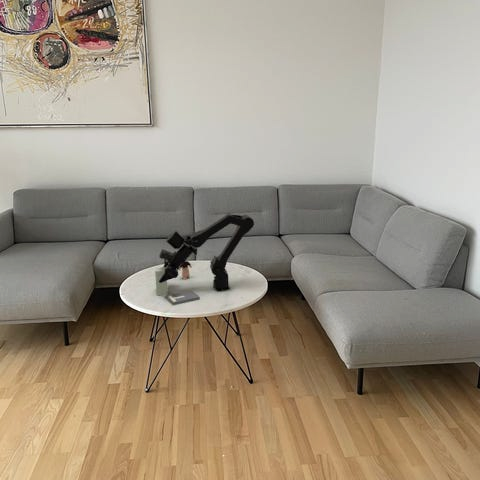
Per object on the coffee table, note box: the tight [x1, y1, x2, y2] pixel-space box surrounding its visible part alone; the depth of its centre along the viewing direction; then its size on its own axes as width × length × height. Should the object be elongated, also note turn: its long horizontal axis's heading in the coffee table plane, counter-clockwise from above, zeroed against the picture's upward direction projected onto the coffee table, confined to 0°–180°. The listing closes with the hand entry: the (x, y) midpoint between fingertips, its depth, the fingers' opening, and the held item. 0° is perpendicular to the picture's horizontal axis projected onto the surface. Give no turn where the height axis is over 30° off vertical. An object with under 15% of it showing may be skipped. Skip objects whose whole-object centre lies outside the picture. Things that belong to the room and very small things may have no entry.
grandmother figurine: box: [178, 257, 192, 281], centre depth 228 cm, size 8×4×13 cm, turn 141°
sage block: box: [154, 267, 169, 296], centre depth 210 cm, size 5×5×12 cm
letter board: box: [164, 289, 201, 306], centre depth 205 cm, size 13×10×1 cm
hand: (159, 278), depth 209 cm, fingers open, 9 cm apart
